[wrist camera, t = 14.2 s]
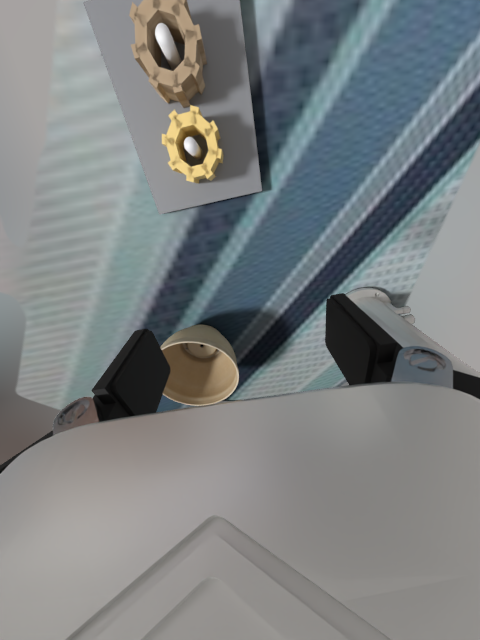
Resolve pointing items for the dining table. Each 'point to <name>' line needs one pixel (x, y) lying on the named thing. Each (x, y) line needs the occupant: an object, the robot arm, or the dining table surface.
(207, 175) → the ochre gear
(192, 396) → the planter bowl
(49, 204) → the dining table surface
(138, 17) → the beech gear
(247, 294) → the dining table surface
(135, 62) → the gear board
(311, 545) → the robot arm
